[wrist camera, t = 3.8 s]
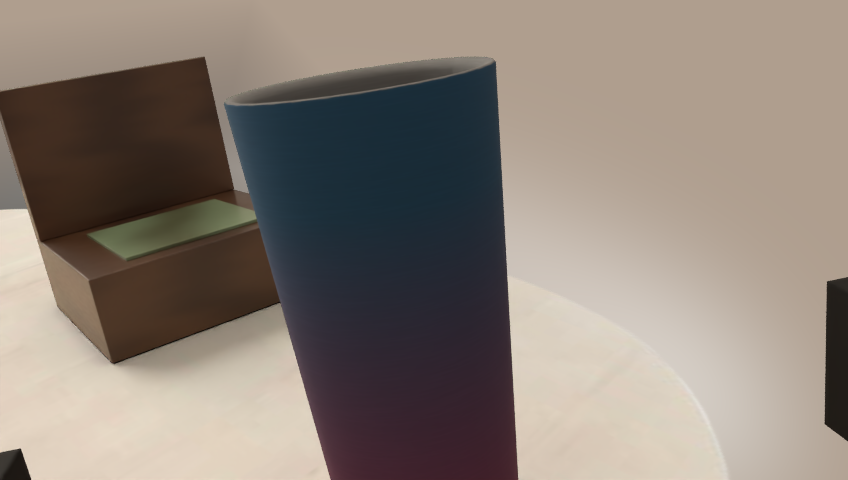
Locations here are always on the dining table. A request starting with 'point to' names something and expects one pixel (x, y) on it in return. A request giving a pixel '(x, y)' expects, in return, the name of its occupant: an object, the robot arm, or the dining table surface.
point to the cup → (390, 262)
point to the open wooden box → (136, 204)
